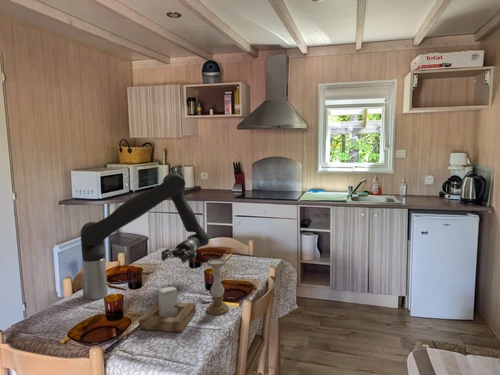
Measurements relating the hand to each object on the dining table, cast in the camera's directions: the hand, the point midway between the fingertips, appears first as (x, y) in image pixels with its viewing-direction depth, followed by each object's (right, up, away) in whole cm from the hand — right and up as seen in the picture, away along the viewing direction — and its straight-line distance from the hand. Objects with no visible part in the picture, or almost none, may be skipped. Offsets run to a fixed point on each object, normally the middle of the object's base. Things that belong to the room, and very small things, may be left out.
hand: (172, 259), depth 154 cm
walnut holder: (+1, -21, -13) cm, 25 cm away
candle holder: (+19, -20, -4) cm, 28 cm away
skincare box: (+1, -21, -13) cm, 24 cm away
